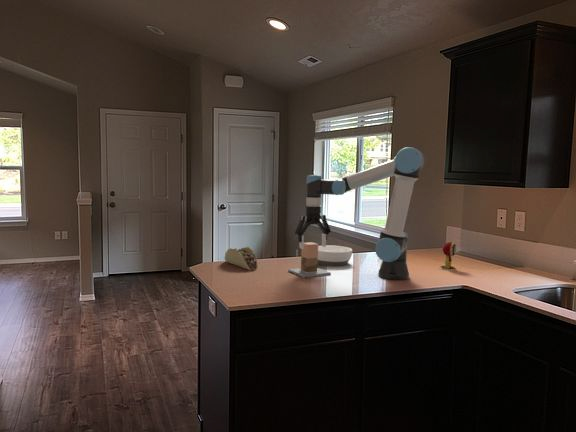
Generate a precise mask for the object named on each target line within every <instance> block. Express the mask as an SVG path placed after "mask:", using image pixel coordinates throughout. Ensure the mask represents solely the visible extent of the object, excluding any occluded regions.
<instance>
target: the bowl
mask: <svg viewBox="0 0 576 432" xmlns="http://www.w3.org/2000/svg"><path fill="white" fill-rule="evenodd" d="M352 255H353V249H352V248H351V247H348V246H341V245H334V244H333V245H332V244H331V245H330V244H329V245H328V244H326V247H323V246H322V245H318V263H317V265H321V266H325V267H344V266H347V265H348V263H349V261H350V260H351V258H352Z"/></svg>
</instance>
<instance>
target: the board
mask: <svg viewBox="0 0 576 432" xmlns="http://www.w3.org/2000/svg"><path fill="white" fill-rule="evenodd" d="M287 270H288V271H289V273H291V272H292V273H291V274H293V273H294V275H296V274H297V275H296V276H298V275H299V276H298V277H300V276H301V277H300V278H303V277H304V279H306V278H305V277H307V278H313V277H314V276H317V277H325V275H327V276H331V275H332V272H329V271H328V270H324V269H322V268H318V267H317V271H316V272H305V271H302V270H301V267H300V268H299V267H298V268H289V269H287ZM288 271H287V272H288ZM314 278H315V277H314Z"/></svg>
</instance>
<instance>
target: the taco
mask: <svg viewBox="0 0 576 432" xmlns="http://www.w3.org/2000/svg"><path fill="white" fill-rule="evenodd" d="M224 261H225V262H226V263H229V264H231V265H233V266H236V267H238V268H242V269H245V270H248V271H250V272H254V271H257V269H258V266H259V265H258V258H257V256H256V253H255V251H254V250H253V249H252V248H250V247H249V246H247V247H246V246H245V247H241V248H239V249H238V248H228V249H227V250H226V252H225V254H224Z"/></svg>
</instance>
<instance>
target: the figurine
mask: <svg viewBox="0 0 576 432" xmlns="http://www.w3.org/2000/svg"><path fill="white" fill-rule="evenodd" d="M442 252H443V254H444V255H445V259H444V265H440V266H439V267H438V269H440V270H441V269H442V271H447V270H450V271H449V272H452V271H451V270H455V271H457V268H456V267H454V266H452V260H453V259H452V257H454V256H455V255H456V254H457V245H456V244H455V242H452V241H449V242H446V243H444V244H443V246H442Z"/></svg>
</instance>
